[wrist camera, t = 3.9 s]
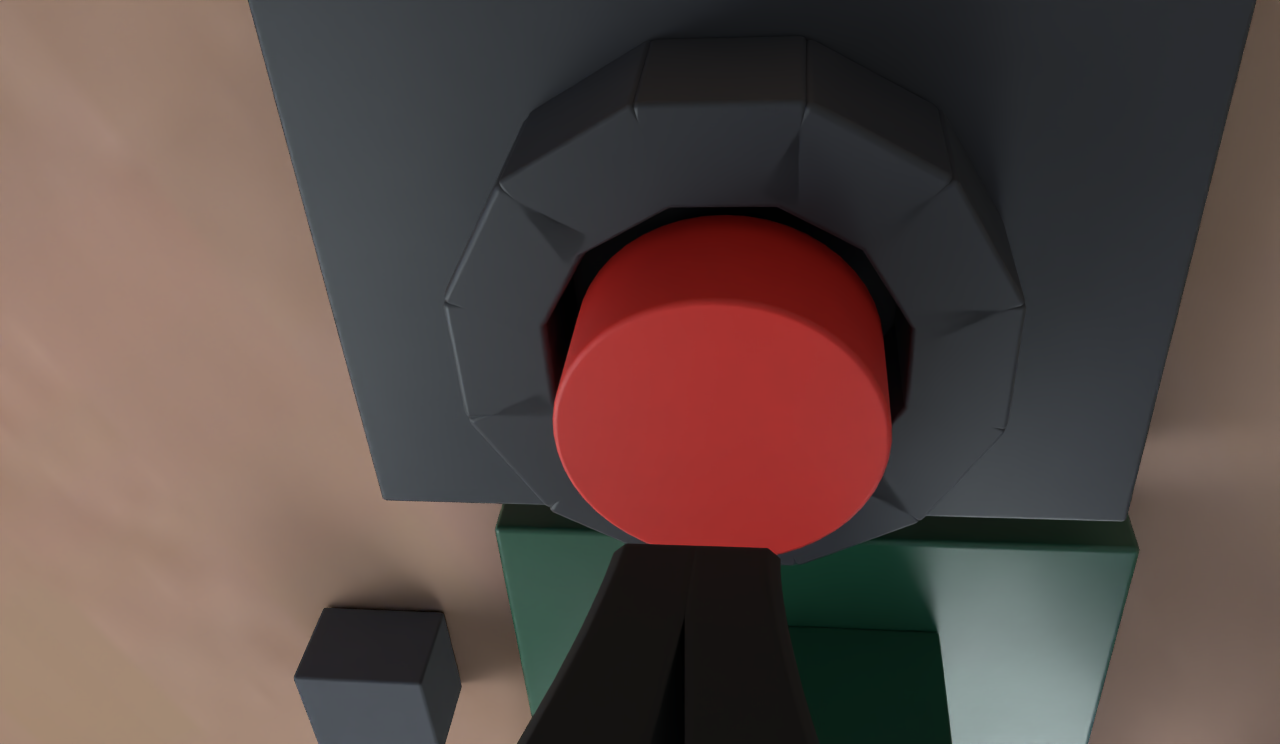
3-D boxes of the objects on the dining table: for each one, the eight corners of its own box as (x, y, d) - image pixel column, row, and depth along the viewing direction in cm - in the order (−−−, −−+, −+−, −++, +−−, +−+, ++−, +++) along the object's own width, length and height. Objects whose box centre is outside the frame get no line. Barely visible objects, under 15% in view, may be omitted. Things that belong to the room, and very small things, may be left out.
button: (893, 211, 12) (903, 301, 11) (874, 466, 14) (882, 568, 13) (561, 213, 13) (531, 299, 11) (592, 458, 15) (569, 557, 14)
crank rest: (444, 611, 22) (420, 684, 20) (463, 685, 23) (441, 759, 22) (322, 606, 22) (292, 678, 21) (348, 680, 23) (320, 751, 22)
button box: (1222, -97, 13) (1337, 11, 10) (1101, 446, 18) (1157, 621, 15) (293, -63, 14) (171, 42, 12) (411, 431, 19) (344, 588, 16)
